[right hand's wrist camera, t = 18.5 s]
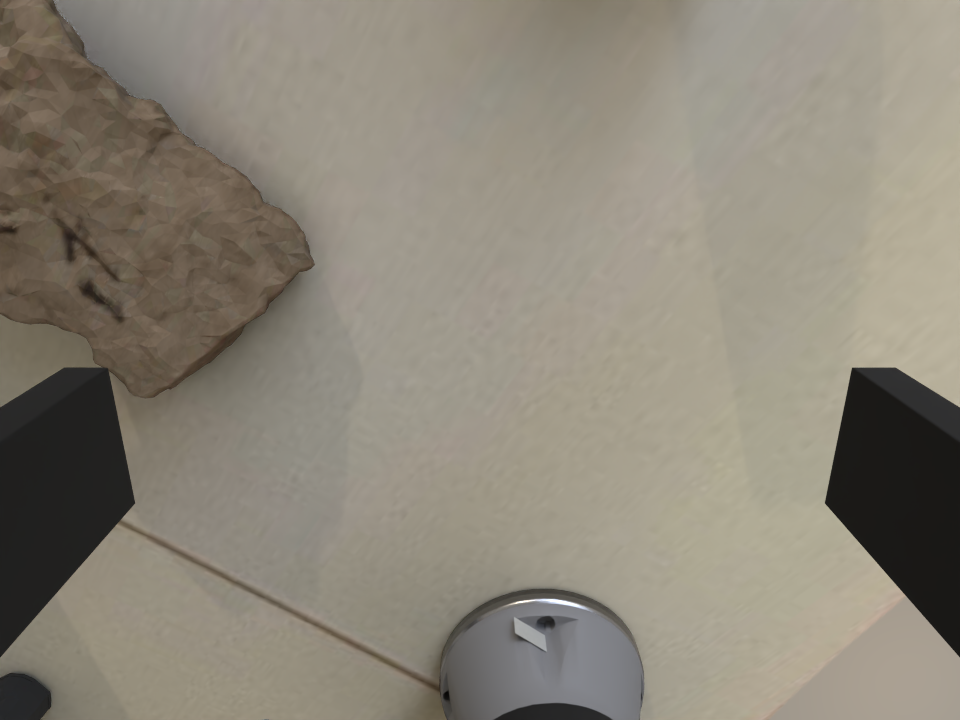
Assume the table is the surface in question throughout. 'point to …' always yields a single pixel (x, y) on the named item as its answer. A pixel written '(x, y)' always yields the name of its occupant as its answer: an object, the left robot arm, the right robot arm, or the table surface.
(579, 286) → the table surface
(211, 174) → the stone
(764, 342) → the table surface
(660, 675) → the table surface
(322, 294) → the table surface
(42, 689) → the robot
